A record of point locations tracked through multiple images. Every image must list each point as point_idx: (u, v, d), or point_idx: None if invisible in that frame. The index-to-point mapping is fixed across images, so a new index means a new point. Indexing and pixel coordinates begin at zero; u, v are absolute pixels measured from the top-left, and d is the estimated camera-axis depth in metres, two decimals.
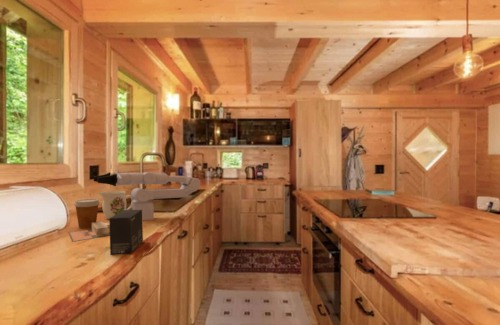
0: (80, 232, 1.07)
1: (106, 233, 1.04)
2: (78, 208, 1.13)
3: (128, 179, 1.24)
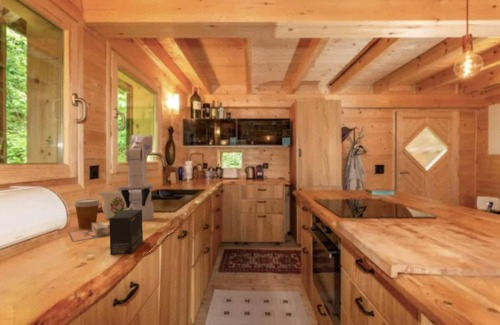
0: (80, 232, 1.07)
1: (106, 233, 1.04)
2: (78, 208, 1.13)
3: None
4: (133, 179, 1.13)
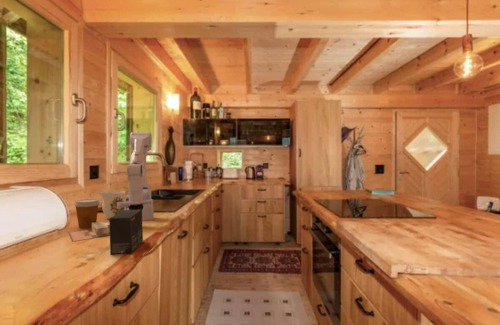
0: (80, 232, 1.07)
1: (106, 233, 1.04)
2: (78, 208, 1.13)
3: None
4: (133, 195, 1.13)
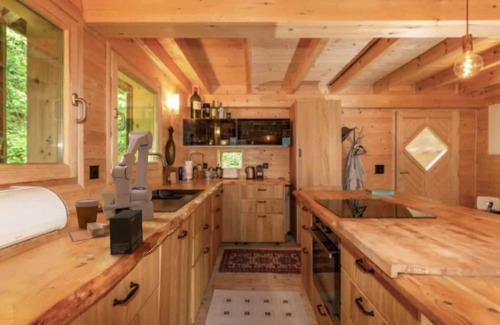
0: (80, 232, 1.07)
1: (101, 234, 1.03)
2: (78, 208, 1.13)
3: None
4: (119, 198, 1.10)
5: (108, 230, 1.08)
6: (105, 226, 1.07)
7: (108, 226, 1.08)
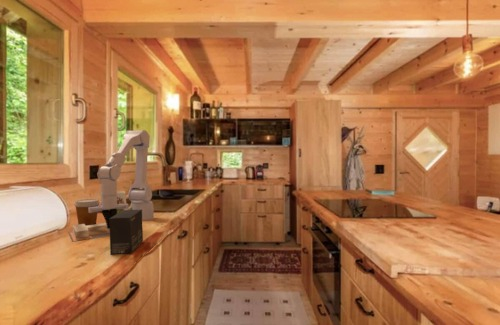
0: None
1: (86, 236, 1.00)
2: (78, 208, 1.13)
3: None
4: (106, 199, 1.07)
5: (94, 232, 1.05)
6: (91, 228, 1.04)
7: (94, 228, 1.05)
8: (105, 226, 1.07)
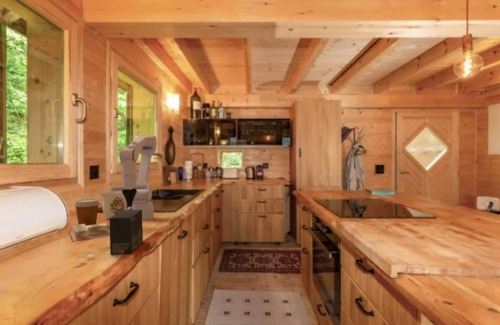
0: None
1: (86, 236, 1.00)
2: (78, 208, 1.13)
3: None
4: (126, 179, 1.13)
5: (94, 232, 1.05)
6: (91, 228, 1.04)
7: (94, 228, 1.05)
8: (105, 226, 1.07)
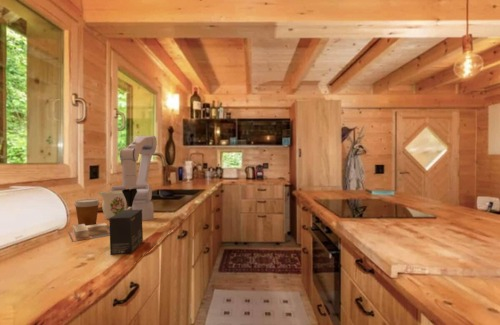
0: None
1: (86, 236, 1.00)
2: (78, 208, 1.13)
3: None
4: (127, 179, 1.13)
5: (94, 232, 1.05)
6: (91, 228, 1.04)
7: (94, 228, 1.05)
8: (105, 226, 1.07)
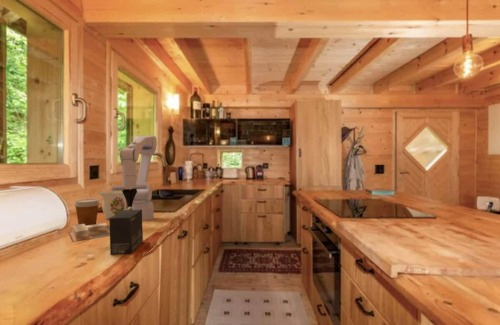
0: None
1: (86, 236, 1.00)
2: (78, 208, 1.13)
3: None
4: (127, 179, 1.13)
5: (94, 232, 1.05)
6: (91, 228, 1.04)
7: (94, 228, 1.05)
8: (105, 226, 1.07)
